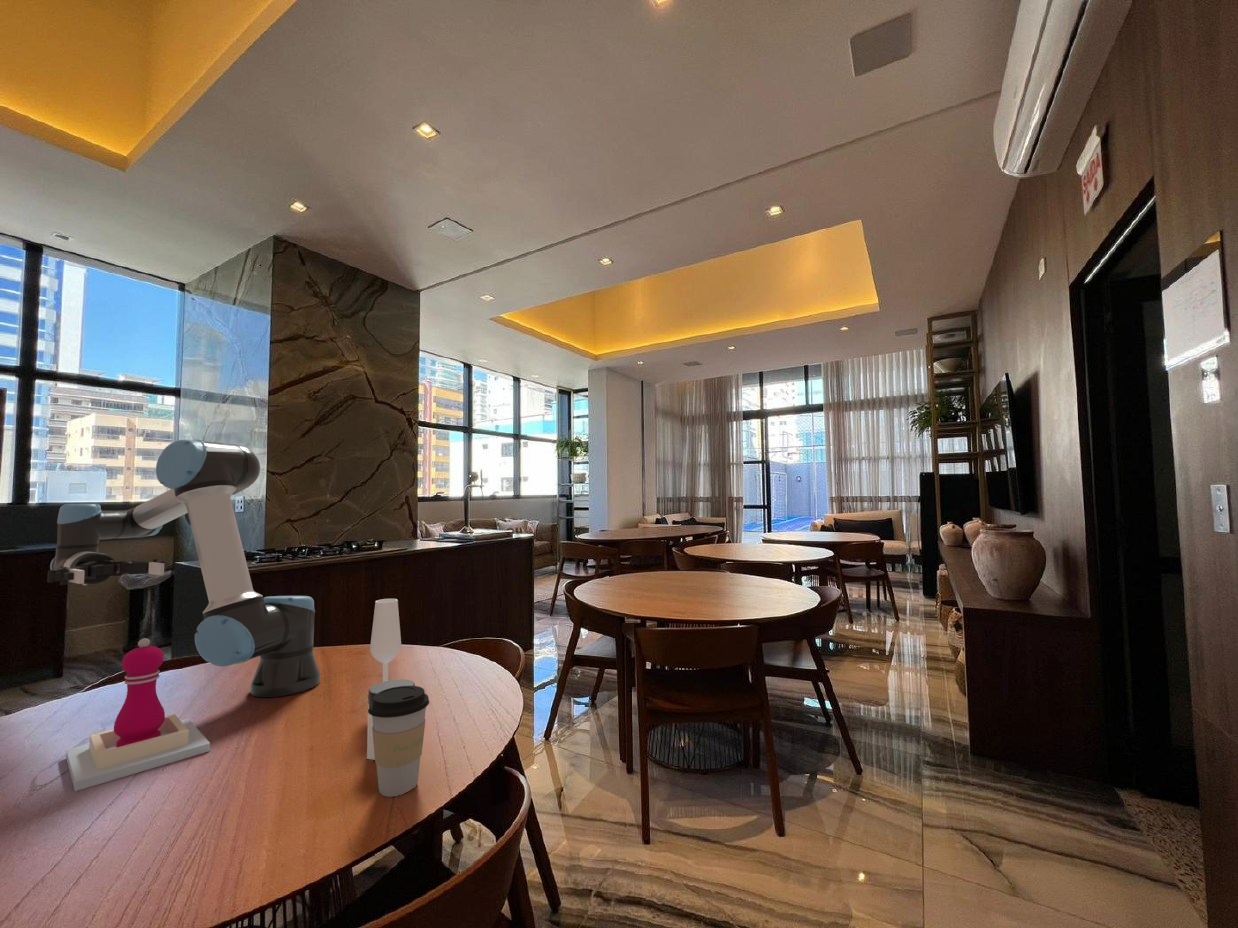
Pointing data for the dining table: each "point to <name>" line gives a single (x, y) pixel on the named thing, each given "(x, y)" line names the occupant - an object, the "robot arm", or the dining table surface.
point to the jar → (372, 693)
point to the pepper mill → (140, 696)
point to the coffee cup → (398, 737)
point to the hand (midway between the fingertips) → (124, 573)
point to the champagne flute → (385, 633)
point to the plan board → (133, 753)
